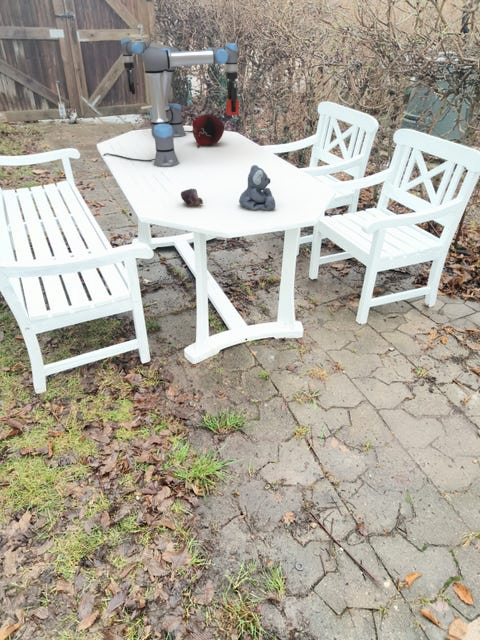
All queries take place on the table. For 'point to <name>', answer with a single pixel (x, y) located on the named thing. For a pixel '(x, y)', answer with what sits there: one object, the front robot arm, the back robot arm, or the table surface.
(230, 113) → the brick
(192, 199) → the rock
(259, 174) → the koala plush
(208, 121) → the dark red round lump
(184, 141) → the table surface
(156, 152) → the front robot arm
